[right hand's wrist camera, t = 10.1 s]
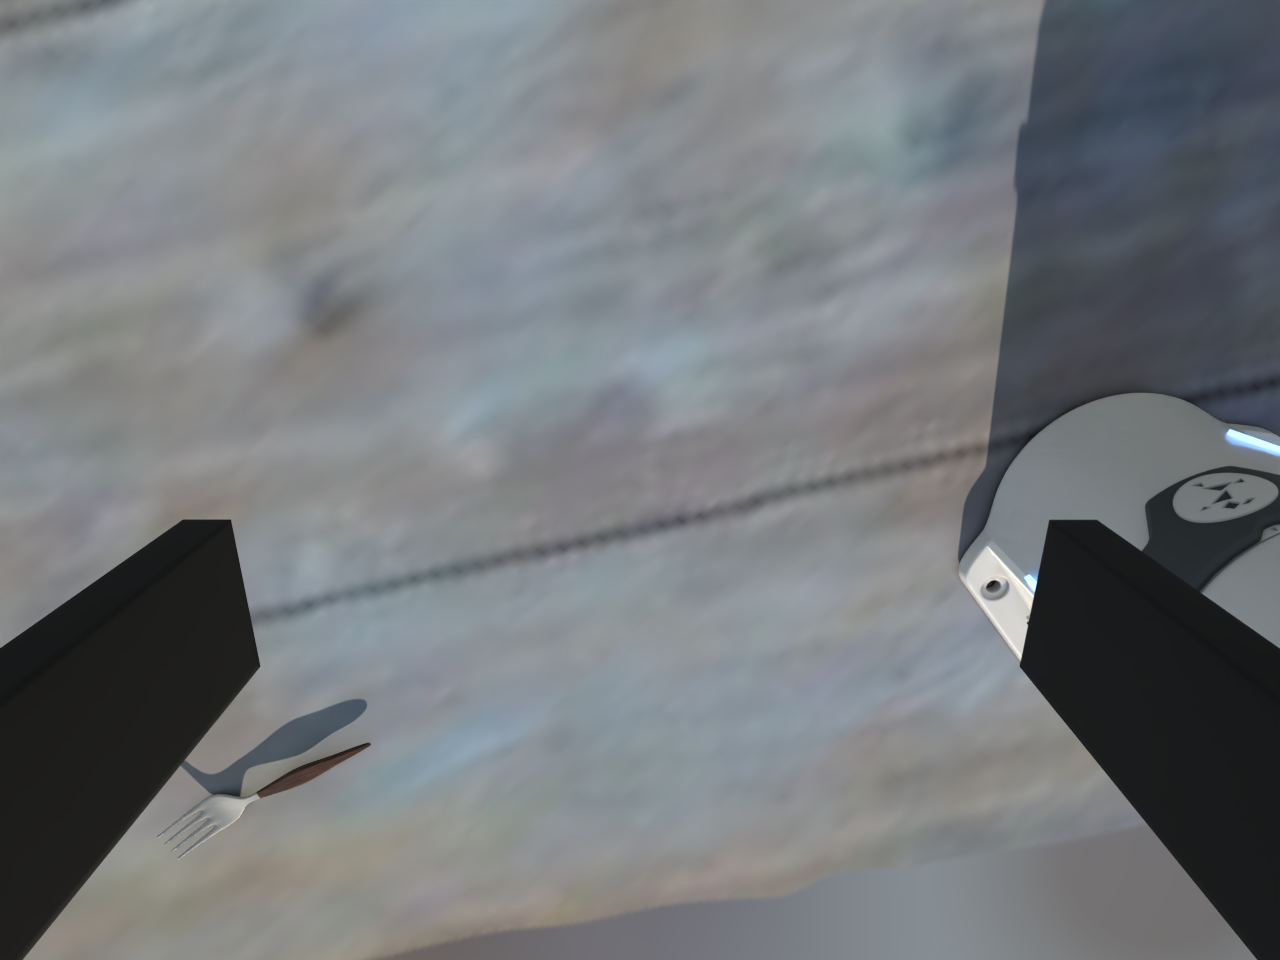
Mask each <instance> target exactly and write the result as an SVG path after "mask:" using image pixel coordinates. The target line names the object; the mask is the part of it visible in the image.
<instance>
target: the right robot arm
mask: <svg viewBox="0 0 1280 960" xmlns="http://www.w3.org/2000/svg"><path fill="white" fill-rule="evenodd" d="M259 667H260V662H259V657H258V652H257V647H256V643H255V638H254V633H253V628H252V623H251V618H250V613H249V608H248V603H247V598H246V593H245V588H244V583H243V578H242V573H241V568H240V563H239V558H238V553H237V548H236V543H235V538H234V533H233V528H232V523H231V520H182V521H180V522H179V523H178V524H176V525H175V526H173V527H172V528H171V529H169V530H168V531H166V532H165V533H163V534H162V535H161V536H159V537H158V538H156V539H155V540H153V541H152V542H151V543H149V544H148V545H146V546H145V547H144V548H142V549H141V550H139V551H138V552H136V553H135V554H134V555H132V556H131V557H129V558H128V559H126V560H125V561H124V562H122V563H121V564H119V565H118V566H117V567H115V568H114V569H112V570H111V571H109V572H108V573H107V574H105V575H104V576H102V577H101V578H99V579H98V580H97V581H95V582H94V583H92V584H91V585H90V586H88V587H87V588H85V589H84V590H82V591H81V592H80V593H78V594H77V595H75V596H74V597H72V598H71V599H70V600H68V601H67V602H65V603H64V604H63V605H61V606H60V607H58V608H57V609H55V610H54V611H53V612H51V613H50V614H48V615H47V616H46V617H44V618H43V619H41V620H40V621H38V622H37V623H36V624H34V625H33V626H31V627H30V628H28V629H27V630H26V631H24V632H23V633H21V634H20V635H19V636H17V637H16V638H14V639H13V640H11V641H10V642H9V643H7V644H6V645H4V646H3V647H1V648H0V960H23V959H24V957H25V956H26V955H27V954H28V952H29V951H30V950H31V949H32V948H33V946H34V945H35V944H36V943H37V941H38V940H39V939H40V938H41V936H42V935H43V934H44V933H45V932H46V930H47V929H48V928H49V927H50V925H51V924H52V923H53V922H54V920H55V919H56V918H57V917H58V915H59V914H60V913H61V912H62V911H63V909H64V908H65V907H66V906H67V904H68V903H69V902H70V901H71V899H72V898H73V897H74V896H75V895H76V893H77V892H78V891H79V890H80V888H81V887H82V886H83V885H84V883H85V882H86V881H87V880H88V878H89V877H90V876H91V875H92V874H93V872H94V871H95V870H96V869H97V867H98V866H99V865H100V864H101V862H102V861H103V860H104V859H105V857H106V856H107V855H108V854H109V853H110V851H111V850H112V849H113V848H114V846H115V845H116V844H117V843H118V841H119V840H120V839H121V838H122V837H123V835H124V834H125V833H126V832H127V830H128V829H129V828H130V827H131V825H132V824H133V823H134V822H135V820H136V819H137V818H138V817H139V816H140V814H141V813H142V812H143V811H144V809H145V808H146V807H147V806H148V804H149V803H150V802H151V801H152V800H153V798H154V797H155V796H156V795H157V793H158V792H159V791H160V790H161V788H162V787H163V786H164V785H165V783H166V782H167V781H168V780H169V779H170V777H171V776H172V775H173V774H174V772H175V771H176V770H177V769H178V767H179V766H180V765H181V764H182V762H183V761H184V760H185V759H186V758H187V756H188V755H189V754H190V753H191V751H192V750H193V749H194V748H195V746H196V745H197V744H198V743H199V742H200V740H201V739H202V738H203V737H204V735H205V734H206V733H207V732H208V730H209V729H210V728H211V727H212V725H213V724H214V723H215V722H216V721H217V719H218V718H219V717H220V716H221V714H222V713H223V712H224V711H225V709H226V708H227V707H228V706H229V705H230V703H231V702H232V701H233V700H234V698H235V697H236V696H237V695H238V693H239V692H240V691H241V690H242V688H243V687H244V686H245V685H246V684H247V682H248V681H249V680H250V679H251V677H252V676H253V675H254V674H255V672H256V671H257V670H258V669H259ZM1020 667H1021V669H1022V670H1023V671H1024V672H1025V674H1026V675H1027V676H1028V677H1029V679H1030V680H1031V681H1032V682H1033V684H1034V685H1035V686H1036V687H1037V688H1038V690H1039V691H1040V692H1041V693H1042V695H1043V696H1044V697H1045V698H1046V700H1047V701H1048V702H1049V703H1050V705H1051V706H1052V707H1053V708H1054V709H1055V711H1056V712H1057V713H1058V714H1059V716H1060V717H1061V718H1062V719H1063V721H1064V722H1065V723H1066V724H1067V725H1068V727H1069V728H1070V729H1071V730H1072V732H1073V733H1074V734H1075V735H1076V737H1077V738H1078V739H1079V740H1080V742H1081V743H1082V744H1083V745H1084V746H1085V748H1086V749H1087V750H1088V751H1089V753H1090V754H1091V755H1092V756H1093V758H1094V759H1095V760H1096V761H1097V762H1098V764H1099V765H1100V766H1101V767H1102V769H1103V770H1104V771H1105V772H1106V774H1107V775H1108V776H1109V777H1110V779H1111V780H1112V781H1113V782H1114V783H1115V785H1116V786H1117V787H1118V788H1119V790H1120V791H1121V792H1122V793H1123V795H1124V796H1125V797H1126V798H1127V800H1128V801H1129V802H1130V803H1131V804H1132V806H1133V807H1134V808H1135V809H1136V811H1137V812H1138V813H1139V814H1140V816H1141V817H1142V818H1143V819H1144V820H1145V822H1146V823H1147V824H1148V825H1149V827H1150V828H1151V829H1152V830H1153V832H1154V833H1155V834H1156V835H1157V836H1158V838H1159V839H1160V840H1161V841H1162V843H1163V844H1164V845H1165V846H1166V848H1167V849H1168V850H1169V851H1170V853H1171V854H1172V855H1173V856H1174V857H1175V859H1176V860H1177V861H1178V862H1179V864H1180V865H1181V866H1182V867H1183V869H1184V870H1185V871H1186V872H1187V874H1188V875H1189V876H1190V877H1191V878H1192V880H1193V881H1194V882H1195V883H1196V885H1197V886H1198V887H1199V888H1200V890H1201V891H1202V892H1203V893H1204V895H1205V896H1206V897H1207V898H1208V899H1209V901H1210V902H1211V903H1212V904H1213V906H1214V907H1215V908H1216V909H1217V911H1218V912H1219V913H1220V914H1221V915H1222V917H1223V918H1224V919H1225V920H1226V922H1227V923H1228V924H1229V925H1230V927H1231V928H1232V929H1233V930H1234V932H1235V933H1236V934H1237V935H1238V936H1239V938H1240V939H1241V940H1242V941H1243V943H1244V944H1245V945H1246V946H1247V948H1248V949H1249V950H1250V951H1251V952H1252V954H1253V955H1254V956H1255V957H1256V959H1257V960H1280V648H1279V647H1277V646H1276V645H1274V644H1273V643H1271V642H1270V641H1269V640H1267V639H1266V638H1264V637H1263V636H1261V635H1260V634H1259V633H1257V632H1256V631H1254V630H1253V629H1252V628H1250V627H1249V626H1247V625H1246V624H1244V623H1243V622H1242V621H1240V620H1239V619H1237V618H1236V617H1234V616H1233V615H1232V614H1230V613H1229V612H1227V611H1226V610H1225V609H1223V608H1222V607H1220V606H1219V605H1217V604H1216V603H1215V602H1213V601H1212V600H1210V599H1209V598H1208V597H1206V596H1205V595H1203V594H1202V593H1200V592H1199V591H1198V590H1196V589H1195V588H1193V587H1192V586H1190V585H1189V584H1188V583H1186V582H1185V581H1183V580H1182V579H1181V578H1179V577H1178V576H1176V575H1175V574H1173V573H1172V572H1171V571H1169V570H1168V569H1166V568H1165V567H1163V566H1162V565H1161V564H1159V563H1158V562H1156V561H1155V560H1154V559H1152V558H1151V557H1149V556H1148V555H1146V554H1145V553H1144V552H1142V551H1141V550H1139V549H1138V548H1136V547H1135V546H1134V545H1132V544H1131V543H1129V542H1128V541H1127V540H1125V539H1124V538H1122V537H1121V536H1119V535H1118V534H1117V533H1115V532H1114V531H1112V530H1111V529H1109V528H1108V527H1107V526H1105V525H1104V524H1102V523H1101V522H1100V521H1098V520H1049V523H1048V528H1047V533H1046V538H1045V543H1044V548H1043V553H1042V558H1041V563H1040V568H1039V573H1038V578H1037V583H1036V588H1035V593H1034V598H1033V603H1032V608H1031V613H1030V618H1029V623H1028V628H1027V633H1026V638H1025V643H1024V647H1023V652H1022V657H1021V662H1020Z"/></svg>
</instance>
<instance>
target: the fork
mask: <svg viewBox="0 0 1280 960" xmlns="http://www.w3.org/2000/svg"><path fill="white" fill-rule="evenodd" d="M370 745H371V744H370V743H365V744H362V745H359V746H356V747H353V748H351V749H348V750H345V751H343V752H340V753H337V754H335V755H332V756H329V757H326V758H323V759H320V760H317V761H314V762H311V763H308V764H305V765H303V766H300V767H298V768H296V769H294V770H292V771H290V772H289V773H287V774H285V775H283V776H282V777H280V778H278V779H277V780H275V781H274V782H272V783H270V784H269V785H267V786H266V787H264V788H262V789H261V790H259V791H257V792H256V793H254V794H252V795H250V796H247V797H237V796H232V795H226V794H215V795H212V796H209V797H207V798H205V799H204V800H202V801H201V802H200V803H199V804H197V805H196V806H195V807H193V808H192V809H191V810H189V811H188V812H187V813H186V814H184V815H183V816H182V817H180V818H179V819H178V820H177V821H176V822H174V823H173V824H172V825H171V826H169V827H168V828H167V829H166V830H165V831H163V832H162V833H161V834H160V835H158V836H157V838H159V837H160V836H161V835H163V834H164V833H165V832H167V831H168V830H170V829H171V828H173V827H174V826H176V825H177V824H179V823H180V822H182V821H183V820H185V819H186V818H188V817H189V816H191V815H192V814H194V813H196V812H198V811H201V814H200V815H199V816H197V817H196V818H195V819H194V820H193V821H191V822H190V823H189V824H187V825H186V826H185V827H184V828H183V829H181V830H180V831H179V832H178V833H176V834H175V835H174V836H173V837H172V838H170V839H169V840H168V841H167V842H166V843H165V844H167V843H168V842H170V841H171V840H173V839H174V838H175V837H177V836H178V835H180V834H181V833H183V832H184V831H186V830H187V829H189V828H190V827H192V826H193V825H195V824H196V823H198V822H199V821H201V820H203V819H205V818H208V820H207V821H206V822H205V823H204V824H203V825H202V826H201V827H199V828H198V829H197V830H196V831H194V832H193V833H192V834H191V835H189V836H188V837H187V838H186V839H185V840H183V841H182V842H181V843H180V844H179V845H177V846H176V847H175V848H174V849H173V850H172V851H174V850H175V849H177V848H178V847H179V846H181V845H182V844H184V843H185V842H187V841H188V840H190V839H191V838H193V837H194V836H195V835H197V834H198V833H200V832H201V831H203V830H204V829H206V828H208V827H209V826H212V825H214V828H213V829H212V830H211V831H210V832H208V833H207V834H206V835H205V836H203V837H202V838H201V839H200V840H199V841H197V842H196V843H195V844H194V845H193V846H191V847H190V848H189V849H188V850H187V851H185V852H184V853H183V854H182V855H181V856H179V857H178V859H180V858H181V857H182V856H184V855H185V854H186V853H188V852H189V851H191V850H192V849H193V848H195V847H196V846H198V845H199V844H201V843H202V842H204V841H205V840H207V839H208V838H209V837H211V836H212V835H214V834H215V833H217V832H219V831H220V830H222V829H224V828H225V827H227V826H229V825H230V824H232V823H233V822H235V821H236V820H237V819H238V818H239V817H240V815H241V814H242V812H243V810H244V808H245V806H246V805H247V804H248V803H250V802H252V801H254V800H257V799H260V798H263V797H266V796H269V795H272V794H275V793H279V792H282V791H285V790H288V789H291V788H294V787H297V786H299V785H302V784H304V783H306V782H308V781H310V780H312V779H314V778H315V777H317V776H319V775H320V774H322V773H324V772H325V771H327V770H329V769H330V768H332V767H334V766H336V765H337V764H339V763H341V762H343V761H345V760H346V759H348V758H350V757H352V756H353V755H355V754H357V753H359V752H360V751H362V750H364V749H365V748H367V747H369V746H370ZM165 844H164V845H165ZM172 851H171V852H172Z"/></svg>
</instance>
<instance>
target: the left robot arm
mask: <svg viewBox="0 0 1280 960" xmlns="http://www.w3.org/2000/svg"><path fill="white" fill-rule="evenodd" d="M1049 520H1098V521H1100V522H1101V523H1102V524H1104V525H1105V526H1107V527H1108V528H1109V529H1111V530H1112V531H1114V532H1115V533H1117V534H1118V535H1119V536H1121V537H1122V538H1124V539H1125V540H1127V541H1128V542H1129V543H1131V544H1132V545H1134V546H1135V547H1136V548H1138V549H1139V550H1141V551H1142V552H1144V553H1145V554H1146V555H1148V556H1149V557H1151V558H1152V559H1154V560H1155V561H1156V562H1158V563H1159V564H1161V565H1162V566H1163V567H1165V568H1166V569H1168V570H1169V571H1171V572H1172V573H1173V574H1175V575H1176V576H1178V577H1179V578H1181V579H1182V580H1183V581H1185V582H1186V583H1188V584H1189V585H1190V586H1192V587H1193V588H1195V589H1196V590H1198V591H1199V592H1200V593H1202V594H1203V595H1205V596H1206V597H1208V598H1209V599H1210V600H1212V601H1213V602H1215V603H1216V604H1217V605H1219V606H1220V607H1222V608H1223V609H1225V610H1226V611H1227V612H1229V613H1230V614H1232V615H1233V616H1234V617H1236V618H1237V619H1239V620H1240V621H1242V622H1243V623H1244V624H1246V625H1247V626H1249V627H1250V628H1252V629H1253V630H1254V631H1256V632H1257V633H1259V634H1260V635H1261V636H1263V637H1264V638H1266V639H1267V640H1269V641H1270V642H1271V643H1273V644H1274V645H1276V646H1277V647H1279V648H1280V437H1279V436H1277V435H1275V434H1273V433H1272V432H1270V431H1268V430H1266V429H1263V428H1260V427H1255V426H1249V425H1240V424H1228V423H1225V422H1222V421H1220V420H1218V419H1216V418H1214V417H1213V416H1211V415H1210V414H1208V413H1206V412H1205V411H1203V410H1202V409H1200V408H1199V407H1197V406H1195V405H1193V404H1191V403H1189V402H1187V401H1184V400H1182V399H1179V398H1176V397H1172V396H1168V395H1164V394H1157V393H1126V394H1119V395H1114V396H1109V397H1105V398H1102V399H1098V400H1095V401H1092V402H1089V403H1087V404H1084V405H1082V406H1080V407H1078V408H1076V409H1074V410H1072V411H1070V412H1068V413H1066V414H1064V415H1063V416H1061V417H1059V418H1058V419H1056V420H1055V421H1053V422H1052V423H1050V424H1049V425H1048V426H1046V427H1045V428H1044V429H1043V430H1041V431H1040V432H1039V433H1038V434H1037V435H1036V436H1035V437H1034V438H1033V439H1031V440H1030V441H1029V443H1028V444H1027V445H1026V446H1025V447H1024V448H1023V449H1022V450H1021V451H1020V453H1019V454H1018V455H1017V456H1016V458H1015V459H1014V460H1013V462H1012V463H1011V465H1010V466H1009V468H1008V470H1007V471H1006V473H1005V475H1004V477H1003V479H1002V481H1001V483H1000V485H999V487H998V490H997V492H996V495H995V498H994V501H993V505H992V508H991V512H990V515H989V518H988V521H987V523H986V525H985V528H984V530H983V531H982V532H981V533H980V535H979V536H978V537H977V538H976V540H975V541H974V542H973V543H972V545H971V546H970V547H969V549H968V550H967V551H966V553H965V554H964V556H963V558H962V559H961V562H960V564H959V568H958V572H959V576H960V578H961V580H962V581H963V583H964V584H965V585H966V587H967V588H968V590H969V591H970V592H971V594H972V595H973V596H974V598H975V599H976V601H977V602H978V603H979V605H980V606H981V608H982V609H983V610H984V612H985V613H986V614H987V616H988V617H989V619H990V620H991V621H992V623H993V624H994V626H995V627H996V628H997V630H998V631H999V632H1000V634H1001V635H1002V637H1003V638H1004V639H1005V641H1006V642H1007V643H1008V645H1009V646H1010V648H1011V649H1012V650H1013V652H1014V653H1015V655H1016V656H1017V657H1018V659H1019V660H1020V661H1021V657H1022V652H1023V647H1024V643H1025V638H1026V633H1027V628H1028V623H1029V618H1030V613H1031V608H1032V603H1033V598H1034V593H1035V588H1036V583H1037V578H1038V573H1039V568H1040V563H1041V558H1042V553H1043V548H1044V543H1045V538H1046V533H1047V528H1048V523H1049ZM992 580H996V581H995V583H994V584H993V585H992V586H991V587H986V586H987V584H988V583H989V582H990V581H992Z"/></svg>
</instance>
